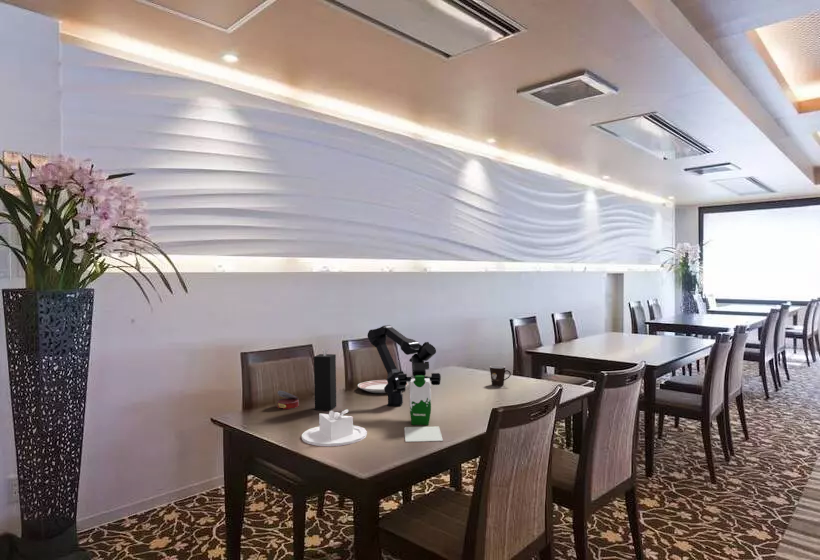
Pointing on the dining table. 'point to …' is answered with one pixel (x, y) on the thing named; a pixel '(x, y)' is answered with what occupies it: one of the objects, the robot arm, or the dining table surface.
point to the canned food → (287, 400)
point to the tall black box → (325, 381)
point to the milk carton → (420, 400)
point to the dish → (334, 430)
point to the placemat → (422, 434)
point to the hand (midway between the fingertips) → (420, 395)
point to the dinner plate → (374, 386)
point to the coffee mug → (498, 375)
